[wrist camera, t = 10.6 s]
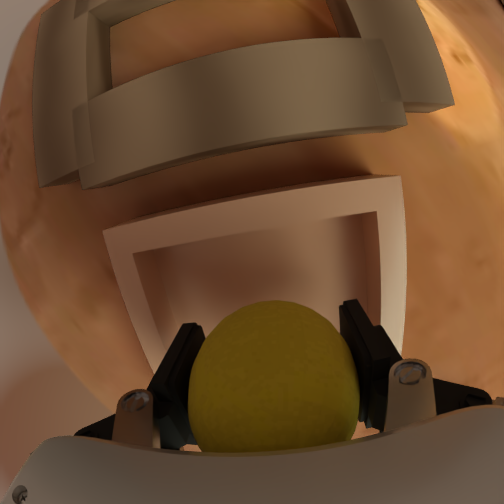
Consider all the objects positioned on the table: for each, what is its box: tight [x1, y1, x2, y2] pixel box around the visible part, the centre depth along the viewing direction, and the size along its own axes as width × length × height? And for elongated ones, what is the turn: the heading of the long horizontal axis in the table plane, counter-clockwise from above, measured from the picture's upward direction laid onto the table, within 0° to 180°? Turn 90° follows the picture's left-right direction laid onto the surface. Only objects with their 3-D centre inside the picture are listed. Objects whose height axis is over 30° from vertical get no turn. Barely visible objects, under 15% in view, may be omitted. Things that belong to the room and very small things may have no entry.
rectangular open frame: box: [32, 0, 455, 190], centre depth 9 cm, size 20×14×2 cm
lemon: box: [188, 300, 360, 453], centre depth 8 cm, size 6×6×8 cm
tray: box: [102, 174, 407, 374], centre depth 13 cm, size 12×12×3 cm
